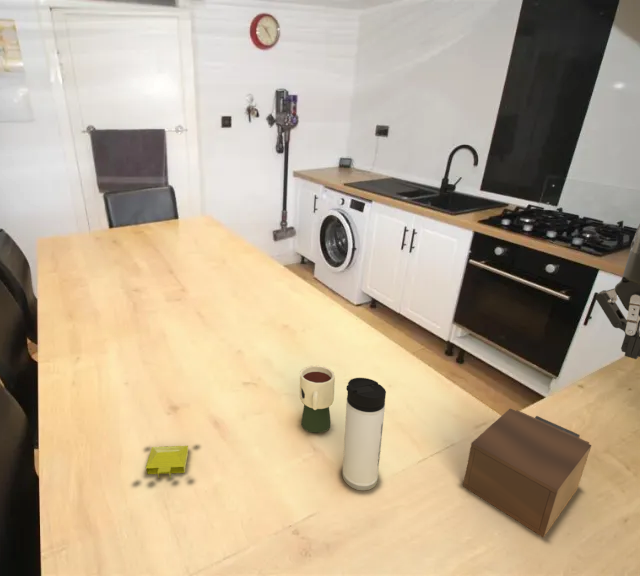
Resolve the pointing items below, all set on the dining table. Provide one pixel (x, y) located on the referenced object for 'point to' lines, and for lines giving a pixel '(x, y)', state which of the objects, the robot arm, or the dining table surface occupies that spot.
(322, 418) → the character mug
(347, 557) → the dining table surface
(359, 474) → the travel mug
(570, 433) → the drawer
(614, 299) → the robot arm
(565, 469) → the cabinet
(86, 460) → the dining table surface
